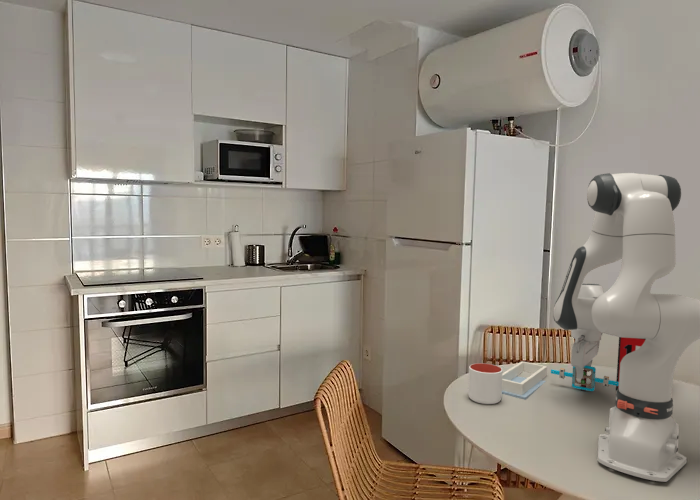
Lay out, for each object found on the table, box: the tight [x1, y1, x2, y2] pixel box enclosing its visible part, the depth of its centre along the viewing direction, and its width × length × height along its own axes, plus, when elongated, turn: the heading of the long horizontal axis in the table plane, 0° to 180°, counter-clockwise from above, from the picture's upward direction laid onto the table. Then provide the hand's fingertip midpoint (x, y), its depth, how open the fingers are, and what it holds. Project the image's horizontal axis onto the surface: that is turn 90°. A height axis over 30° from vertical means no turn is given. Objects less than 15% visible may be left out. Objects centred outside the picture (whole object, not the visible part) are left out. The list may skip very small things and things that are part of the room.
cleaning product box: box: [615, 337, 646, 392], centre depth 163 cm, size 16×9×20 cm, turn 139°
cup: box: [467, 362, 504, 405], centre depth 152 cm, size 10×10×10 cm
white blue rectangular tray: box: [502, 361, 548, 400], centre depth 166 cm, size 27×12×4 cm, turn 141°
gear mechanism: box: [550, 365, 619, 392], centre depth 160 cm, size 20×5×9 cm, turn 55°
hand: (583, 374), depth 160 cm, fingers open, 8 cm apart
